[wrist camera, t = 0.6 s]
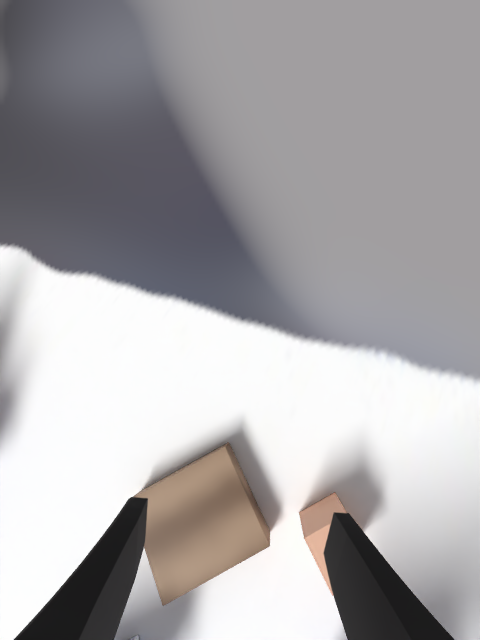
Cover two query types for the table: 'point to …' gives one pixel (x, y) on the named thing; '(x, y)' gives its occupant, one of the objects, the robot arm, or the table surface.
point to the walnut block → (201, 523)
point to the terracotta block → (320, 528)
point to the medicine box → (135, 638)
